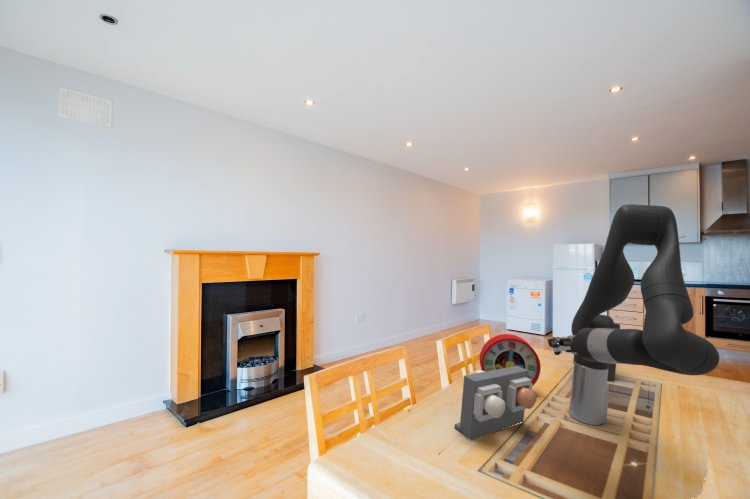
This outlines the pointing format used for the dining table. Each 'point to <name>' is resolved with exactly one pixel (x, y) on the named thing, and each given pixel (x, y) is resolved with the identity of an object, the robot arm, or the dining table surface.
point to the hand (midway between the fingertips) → (550, 342)
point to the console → (499, 385)
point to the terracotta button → (525, 397)
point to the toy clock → (510, 355)
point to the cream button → (493, 405)
